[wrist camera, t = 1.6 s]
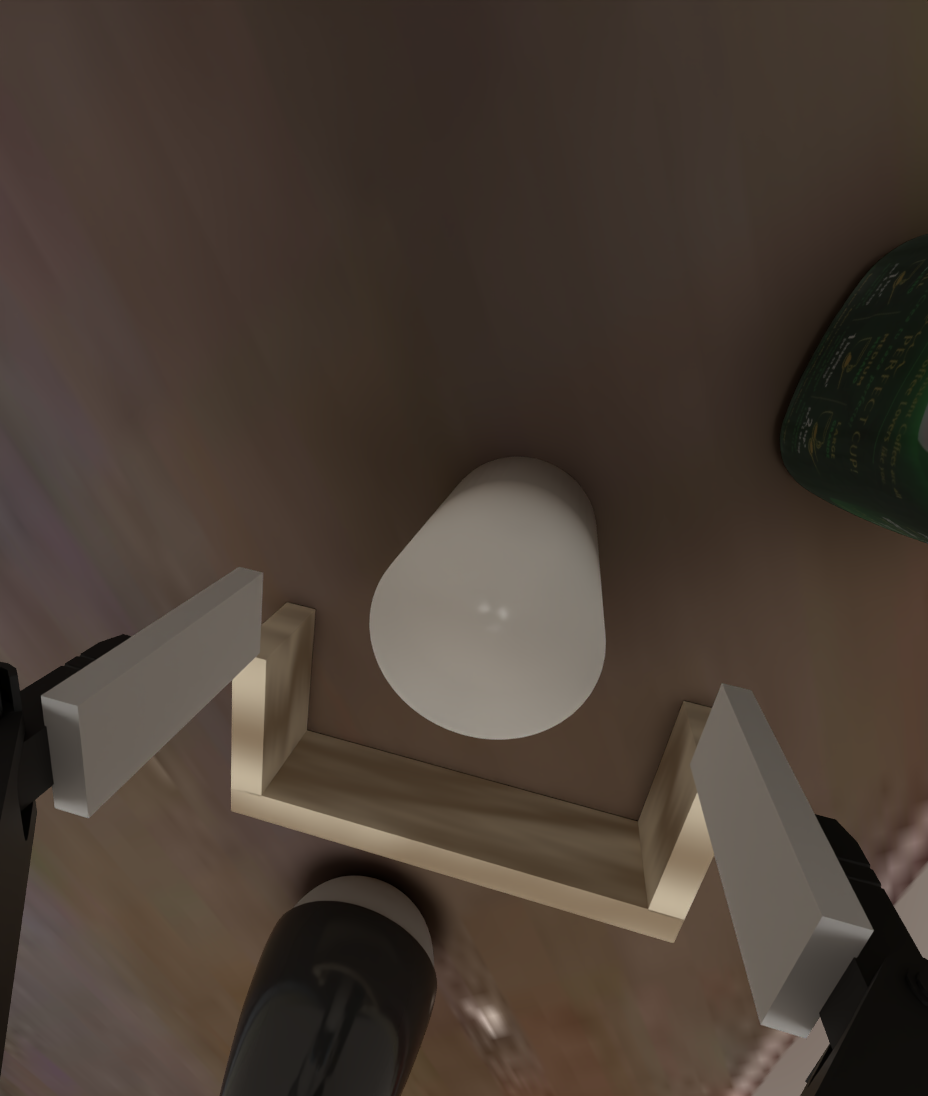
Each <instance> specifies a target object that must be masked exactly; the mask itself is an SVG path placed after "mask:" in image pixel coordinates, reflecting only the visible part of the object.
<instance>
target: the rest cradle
mask: <svg viewBox="0 0 928 1096" xmlns="http://www.w3.org/2000/svg"><path fill="white" fill-rule="evenodd" d="M315 612H316V609H312V608H308V607H304V606H300V605H296V604H292V603H288V602H287V603H286V604H285V605H283V606H282V607H281V608H280V609H279V610H278V611H277V612H276V613H275V614H273V615H272V616H271V617H270V618H269V619H268V620H267V621H266V622H265V623H263V624H262V625H261V639H260V653H259V654H258V655H257V656H256V657H255V658H254V659H253V660H252V661H251V662H250V663H249V664H248V665H247V666H246V667H245V668H244V669H243V670H242V671H241V672H240V673H239V674H238V675H237V676H236V677H235V678H234V679H233V680H232V762H231V811H233V812H237V813H240V814H244V815H247V816H250V817H254V818H257V819H260V820H264V821H267V822H270V823H274V824H277V825H280V826H284V827H287V828H290V829H294V830H297V831H300V832H304V833H307V834H310V835H314V836H317V837H320V838H324V839H327V840H330V841H334V842H337V843H340V844H344V845H347V846H350V847H354V848H357V849H360V850H364V851H367V852H370V853H374V854H377V855H381V856H384V857H387V858H391V859H394V860H397V861H401V862H404V863H407V864H411V865H414V866H417V867H421V868H424V869H427V870H431V871H434V872H437V873H441V874H444V875H447V876H451V877H454V878H457V879H461V880H464V881H467V882H471V883H474V884H477V885H481V886H484V887H487V888H491V889H494V890H497V891H501V892H504V893H507V894H511V895H514V896H518V897H521V898H524V899H528V900H531V901H534V902H538V903H541V904H544V905H548V906H551V907H554V908H558V909H561V910H564V911H568V912H571V913H574V914H578V915H581V916H584V917H588V918H591V919H594V920H598V921H601V922H604V923H608V924H611V925H614V926H618V927H621V928H624V929H628V930H631V931H634V932H638V933H641V934H644V935H648V936H651V937H655V938H658V939H661V940H665V941H668V942H671V943H674V941H675V939H676V937H677V935H678V932H679V930H680V928H681V926H682V924H683V921H684V919H685V917H686V915H687V913H688V911H689V908H690V906H691V904H692V902H693V900H694V898H695V895H696V893H697V891H698V889H699V887H700V885H701V882H702V880H703V878H704V876H705V874H706V872H707V869H708V867H709V865H710V863H711V861H712V858H713V856H714V851H713V848H712V844H711V840H710V837H709V833H708V829H707V826H706V822H705V818H704V815H703V811H702V807H701V804H700V800H699V796H698V793H697V789H696V785H695V782H694V778H693V774H692V771H691V767H690V763H691V760H692V758H693V755H694V753H695V750H696V747H697V745H698V742H699V740H700V737H701V735H702V732H703V730H704V727H705V725H706V722H707V720H708V717H709V714H710V712H711V709H712V708H710V707H706V706H702V705H698V704H694V703H690V702H686V701H683V704H682V706H681V709H680V711H679V714H678V717H677V719H676V722H675V725H674V727H673V730H672V733H671V735H670V738H669V741H668V743H667V746H666V749H665V751H664V754H663V756H662V759H661V762H660V764H659V767H658V770H657V772H656V775H655V778H654V780H653V783H652V786H651V788H650V791H649V794H648V796H647V799H646V802H645V804H644V807H643V809H642V812H641V815H640V817H639V820H638V821H634V820H630V819H627V818H623V817H619V816H616V815H612V814H609V813H605V812H601V811H598V810H594V809H590V808H587V807H583V806H580V805H576V804H572V803H569V802H565V801H561V800H558V799H554V798H551V797H547V796H543V795H540V794H536V793H532V792H529V791H525V790H522V789H518V788H514V787H511V786H507V785H503V784H500V783H496V782H493V781H489V780H485V779H482V778H478V777H474V776H471V775H467V774H464V773H460V772H456V771H453V770H449V769H446V768H442V767H438V766H435V765H431V764H427V763H424V762H420V761H417V760H413V759H409V758H406V757H402V756H398V755H395V754H391V753H388V752H384V751H380V750H377V749H373V748H369V747H366V746H362V745H359V744H355V743H351V742H348V741H344V740H340V739H337V738H333V737H330V736H326V735H322V734H319V733H315V732H311V731H308V730H307V722H308V709H309V695H310V681H311V667H312V653H313V640H314V626H315Z"/></svg>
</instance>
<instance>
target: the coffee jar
mask: <svg viewBox="0 0 928 1096" xmlns="http://www.w3.org/2000/svg"><path fill="white" fill-rule="evenodd" d="M780 449H781V455H782V459H783V462H784V465H785V467H786V468H787V470H788V472H789V473H790V474H791V476H792V477H793V478H794V479H795V480H796V481H797V482H798V483H799V484H800V485H801V486H803V487H804V488H805V489H807V490H808V491H810V492H812V493H813V494H815V495H817V496H818V497H820V498H822V499H824V500H826V501H827V502H829V503H831V504H833V505H835V506H837V507H839V508H841V509H843V510H845V511H848V512H850V513H852V514H854V515H856V516H858V517H861V518H863V519H865V520H867V521H870V522H872V523H874V524H877V525H879V526H881V527H884V528H886V529H889V530H892V531H894V532H897V533H900V534H902V535H905V536H908V537H911V538H913V539H916V540H919V541H922V542H925V543H927V544H928V234H925V235H922V236H919V237H917V238H914V239H912V240H910V241H908V242H905V243H904V244H902V245H900V246H899V247H897V248H895V249H894V250H892V251H891V252H889V253H888V254H887V255H885V256H884V257H883V258H882V259H880V260H879V261H878V262H877V263H876V264H875V265H874V266H873V267H872V268H871V269H870V270H869V271H868V272H867V273H866V275H865V276H864V277H863V278H862V280H861V281H860V282H859V284H858V285H857V287H856V288H855V289H854V290H853V292H852V293H851V294H850V296H849V297H848V299H847V300H846V302H845V303H844V305H843V307H842V308H841V310H840V311H839V312H838V313H837V315H836V316H835V318H834V320H833V321H832V323H831V324H830V326H829V328H828V329H827V331H826V333H825V334H824V336H823V338H822V340H821V342H820V343H819V345H818V347H817V349H816V350H815V352H814V354H813V356H812V358H811V360H810V362H809V363H808V365H807V367H806V369H805V371H804V373H803V375H802V377H801V379H800V381H799V383H798V385H797V388H796V390H795V392H794V395H793V397H792V399H791V402H790V405H789V407H788V409H787V413H786V415H785V418H784V420H783V423H782V427H781V433H780Z"/></svg>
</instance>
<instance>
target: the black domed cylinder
mask: <svg viewBox="0 0 928 1096" xmlns="http://www.w3.org/2000/svg"><path fill="white" fill-rule="evenodd" d="M436 991H437V978H436V973H435V969H434V954H433V946H432V941H431V937H430V933H429V930H428V927H427V925H426V923H425V920H424V918H423V917H422V915H421V913H420V911H419V910H418V909H417V907H416V906H415V905H414V903H413V902H412V901H411V900H410V899H409V898H408V897H407V896H406V895H405V894H404V893H402V892H401V891H400V890H398V889H397V888H395V887H394V886H392V885H390V884H388V883H386V882H384V881H381V880H378V879H375V878H371V877H366V876H343V877H338V878H335V879H332V880H329V881H326V882H324V883H322V884H320V885H319V886H317V887H315V888H314V889H313V890H311V891H310V892H308V893H307V894H306V895H305V896H304V897H303V898H302V899H301V900H300V901H299V902H298V903H297V904H296V905H295V906H294V907H293V908H292V909H291V910H289V911H288V912H286V913H285V914H284V915H283V916H282V917H281V918H280V919H279V921H278V922H277V923H276V925H275V927H274V929H273V931H272V932H271V934H270V936H269V938H268V941H267V943H266V945H265V947H264V950H263V952H262V955H261V957H260V960H259V962H258V965H257V968H256V971H255V973H254V976H253V979H252V982H251V985H250V987H249V990H248V993H247V996H246V999H245V1002H244V1005H243V1008H242V1012H241V1015H240V1018H239V1022H238V1025H237V1029H236V1032H235V1036H234V1040H233V1043H232V1047H231V1051H230V1055H229V1059H228V1063H227V1067H226V1071H225V1075H224V1079H223V1083H222V1087H221V1091H220V1096H401V1094H402V1091H403V1089H404V1087H405V1084H406V1082H407V1080H408V1077H409V1075H410V1072H411V1070H412V1067H413V1065H414V1062H415V1060H416V1057H417V1054H418V1052H419V1049H420V1046H421V1043H422V1041H423V1038H424V1035H425V1032H426V1030H427V1027H428V1024H429V1020H430V1017H431V1014H432V1010H433V1006H434V1002H435V997H436Z"/></svg>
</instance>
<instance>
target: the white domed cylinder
mask: <svg viewBox="0 0 928 1096" xmlns="http://www.w3.org/2000/svg"><path fill="white" fill-rule="evenodd" d="M369 627H370V637H371V643H372V647H373V651H374V654H375V657H376V660H377V662H378V665H379V667H380V669H381V671H382V673H383V674H384V676H385V678H386V679H387V681H388V682H389V684H390V685H391V687H392V688H393V689H394V691H395V692H396V693H397V694H398V695H399V696H400V697H401V699H402V700H403V701H405V702H406V703H407V704H408V705H409V706H410V707H411V708H412V709H414V710H415V711H416V712H418V713H419V714H420V715H422V716H423V717H425V718H426V719H428V720H430V721H431V722H433V723H435V724H437V725H439V726H441V727H443V728H446V729H448V730H450V731H453V732H456V733H459V734H462V735H466V736H471V737H476V738H483V739H514V738H521V737H526V736H530V735H534V734H537V733H540V732H542V731H545V730H548V729H550V728H552V727H553V726H555V725H557V724H559V723H561V722H562V721H564V720H565V719H566V718H568V717H569V716H571V715H572V714H573V713H574V712H575V711H576V710H577V709H578V708H579V707H580V706H582V704H583V703H584V702H585V701H586V699H587V698H588V697H589V695H590V694H591V692H592V691H593V689H594V687H595V685H596V684H597V681H598V679H599V676H600V674H601V671H602V667H603V663H604V658H605V647H606V638H605V625H604V613H603V601H602V588H601V576H600V563H599V551H598V538H597V526H596V518H595V514H594V510H593V508H592V505H591V503H590V500H589V499H588V497H587V495H586V493H585V492H584V490H583V489H582V488H581V486H580V485H579V484H578V483H577V482H576V481H575V480H574V479H573V478H572V477H571V476H570V475H569V474H567V473H566V472H565V471H563V470H562V469H560V468H558V467H557V466H555V465H553V464H551V463H548V462H546V461H543V460H539V459H536V458H530V457H506V458H500V459H496V460H493V461H490V462H488V463H485V464H483V465H481V466H480V467H478V468H476V469H474V470H473V471H472V472H470V473H469V474H468V475H467V476H466V477H465V478H464V479H463V480H462V481H461V482H460V483H459V484H458V485H457V486H456V488H455V489H454V490H453V491H452V492H451V494H450V495H449V496H448V497H447V498H446V500H445V501H444V502H443V503H442V504H441V505H440V507H439V508H438V509H437V510H436V511H435V513H434V514H433V515H432V516H431V517H430V519H429V520H428V521H427V522H426V523H425V524H424V526H423V527H422V528H421V529H420V530H419V532H418V533H417V534H416V535H415V536H414V538H413V539H412V540H411V541H410V542H409V544H408V545H407V546H406V547H405V548H404V549H403V551H402V552H401V553H400V554H399V555H398V557H397V558H396V559H395V560H394V561H393V563H392V564H391V565H390V566H389V568H388V569H387V571H386V572H385V573H384V575H383V576H382V578H381V580H380V582H379V584H378V586H377V588H376V591H375V594H374V597H373V600H372V605H371V610H370V624H369Z"/></svg>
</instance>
